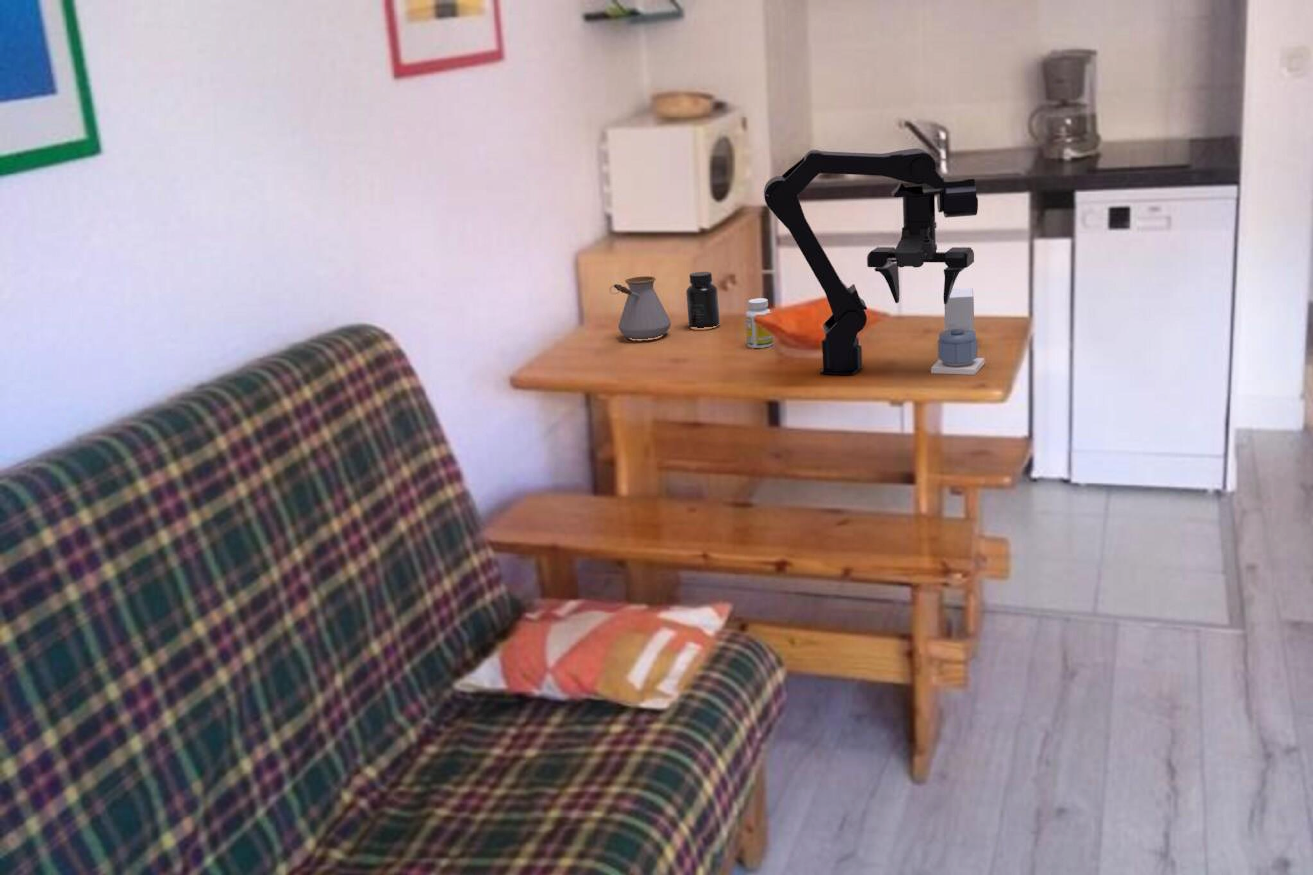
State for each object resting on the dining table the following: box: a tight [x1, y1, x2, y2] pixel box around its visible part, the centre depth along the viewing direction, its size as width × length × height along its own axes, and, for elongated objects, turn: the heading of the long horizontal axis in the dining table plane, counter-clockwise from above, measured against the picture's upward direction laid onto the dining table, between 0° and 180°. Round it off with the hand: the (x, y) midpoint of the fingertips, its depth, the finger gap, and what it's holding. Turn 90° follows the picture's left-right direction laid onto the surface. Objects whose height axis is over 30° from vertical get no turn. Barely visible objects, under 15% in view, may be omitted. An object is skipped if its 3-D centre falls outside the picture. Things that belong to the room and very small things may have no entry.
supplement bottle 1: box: [686, 271, 721, 328], centre depth 302 cm, size 7×7×12 cm
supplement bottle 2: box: [745, 298, 774, 349], centre depth 282 cm, size 5×5×10 cm
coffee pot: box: [609, 275, 672, 339], centre depth 293 cm, size 21×12×15 cm, turn 160°
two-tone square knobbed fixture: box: [930, 357, 986, 376], centre depth 254 cm, size 8×8×5 cm
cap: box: [937, 329, 978, 363], centre depth 253 cm, size 7×7×5 cm
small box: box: [944, 287, 975, 332], centre depth 269 cm, size 8×6×10 cm
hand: (921, 303), depth 255 cm, fingers open, 9 cm apart
